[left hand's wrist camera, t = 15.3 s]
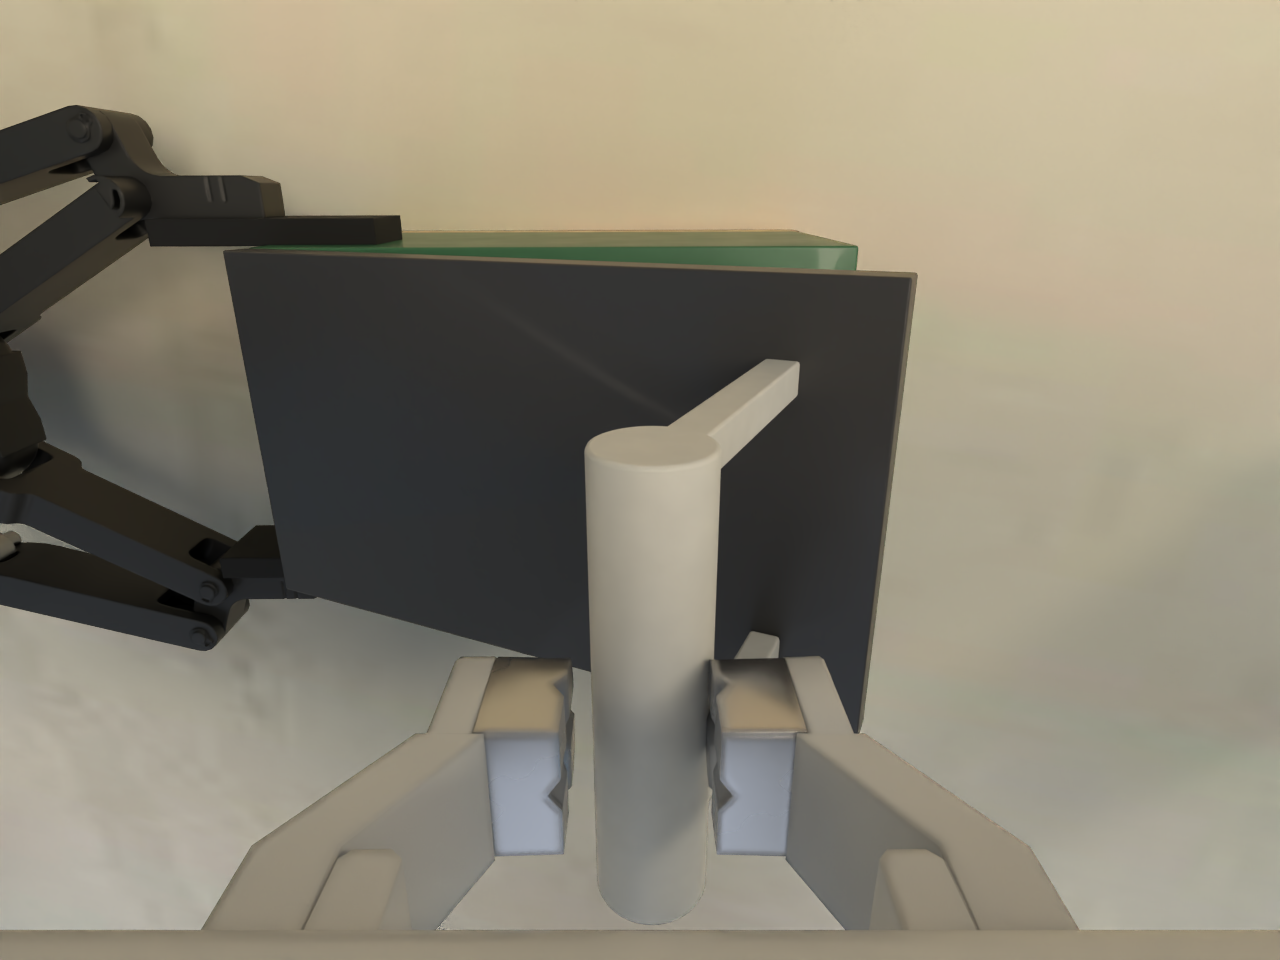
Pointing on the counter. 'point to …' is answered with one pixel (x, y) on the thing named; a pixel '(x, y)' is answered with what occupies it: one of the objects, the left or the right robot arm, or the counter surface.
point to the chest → (624, 247)
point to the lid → (590, 483)
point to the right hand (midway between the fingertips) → (408, 401)
